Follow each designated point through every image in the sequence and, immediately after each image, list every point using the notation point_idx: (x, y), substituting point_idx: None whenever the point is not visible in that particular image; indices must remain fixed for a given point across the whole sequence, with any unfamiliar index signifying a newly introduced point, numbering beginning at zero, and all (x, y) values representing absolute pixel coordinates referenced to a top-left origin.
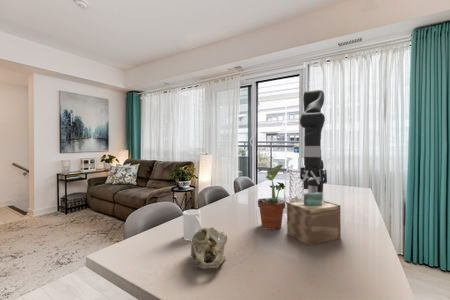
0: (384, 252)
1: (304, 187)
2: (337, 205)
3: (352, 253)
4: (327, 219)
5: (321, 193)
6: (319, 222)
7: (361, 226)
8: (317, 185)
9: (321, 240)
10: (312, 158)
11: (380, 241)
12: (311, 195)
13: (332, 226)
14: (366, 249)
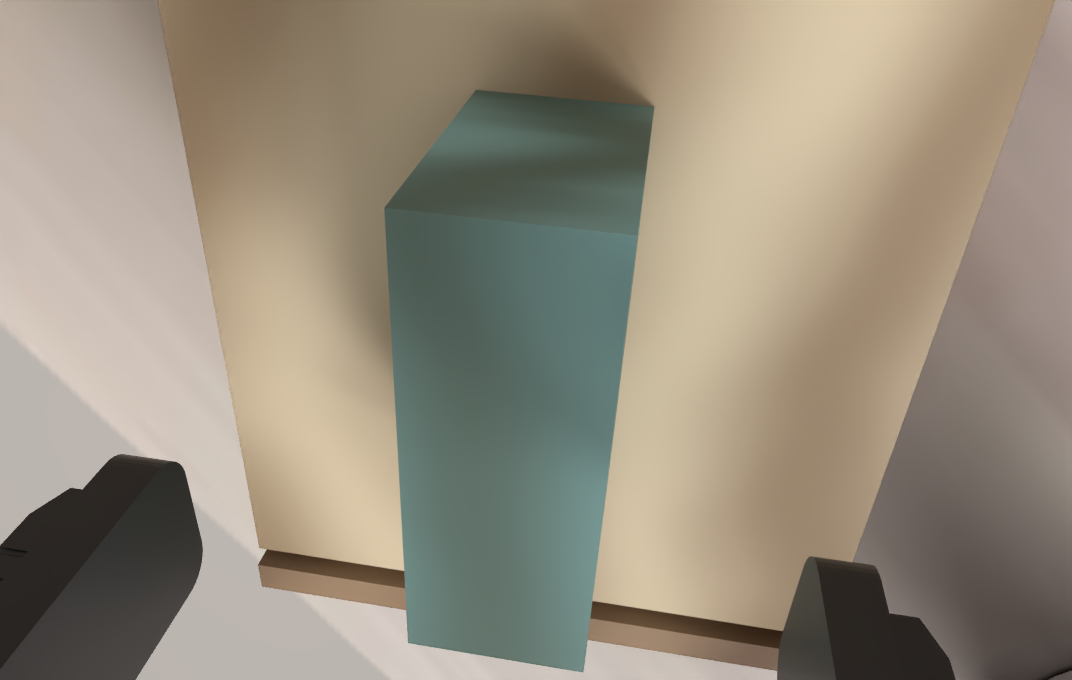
0: (67, 333)
1: (850, 602)
2: (293, 563)
3: (96, 75)
4: None
5: (410, 636)
6: None
7: (538, 665)
8: (7, 654)
9: None
10: None
11: (242, 496)
12: (400, 321)
13: None
14: (142, 268)
